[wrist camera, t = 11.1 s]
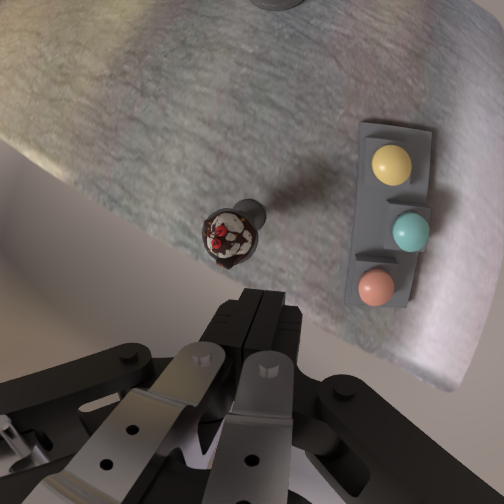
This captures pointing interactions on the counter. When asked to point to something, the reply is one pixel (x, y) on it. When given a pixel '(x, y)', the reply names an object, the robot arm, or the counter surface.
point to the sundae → (233, 233)
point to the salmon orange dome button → (375, 287)
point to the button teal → (410, 231)
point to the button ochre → (391, 164)
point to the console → (387, 211)
